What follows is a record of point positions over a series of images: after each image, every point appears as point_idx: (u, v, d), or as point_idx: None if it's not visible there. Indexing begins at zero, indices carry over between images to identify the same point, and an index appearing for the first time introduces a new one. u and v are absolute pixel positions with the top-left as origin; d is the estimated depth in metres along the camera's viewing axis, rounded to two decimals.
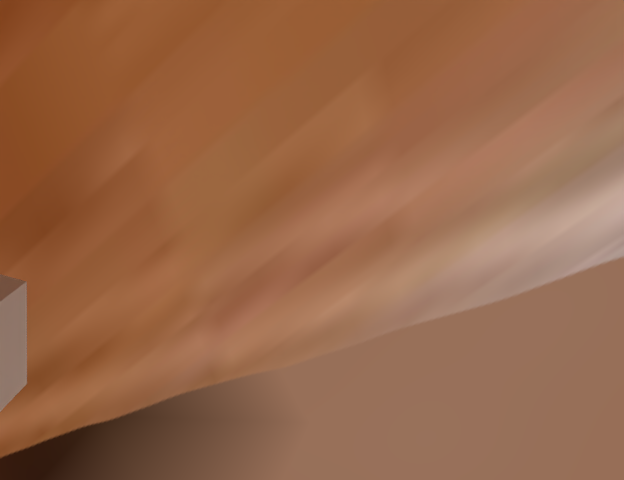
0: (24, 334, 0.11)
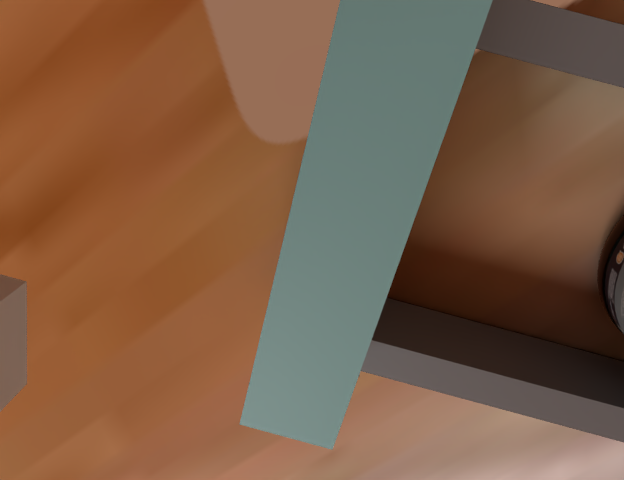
0: (24, 333, 0.11)
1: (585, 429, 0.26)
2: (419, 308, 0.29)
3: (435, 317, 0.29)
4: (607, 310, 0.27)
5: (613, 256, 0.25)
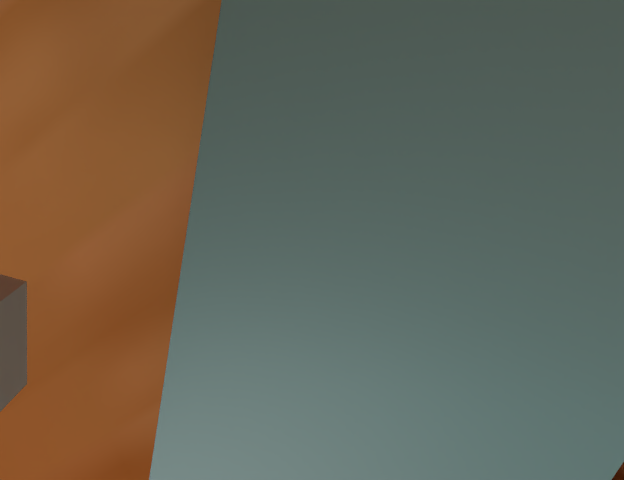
0: (24, 334, 0.11)
1: None
2: None
3: None
4: None
5: None
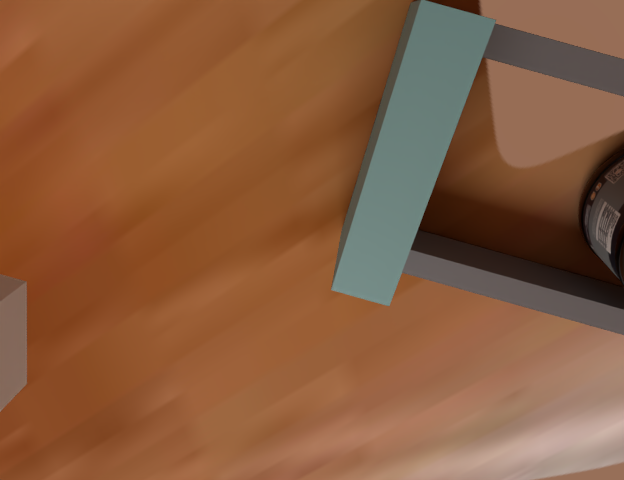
0: (24, 334, 0.11)
1: (552, 312, 0.39)
2: (439, 236, 0.42)
3: (450, 242, 0.41)
4: (584, 235, 0.39)
5: (589, 196, 0.38)
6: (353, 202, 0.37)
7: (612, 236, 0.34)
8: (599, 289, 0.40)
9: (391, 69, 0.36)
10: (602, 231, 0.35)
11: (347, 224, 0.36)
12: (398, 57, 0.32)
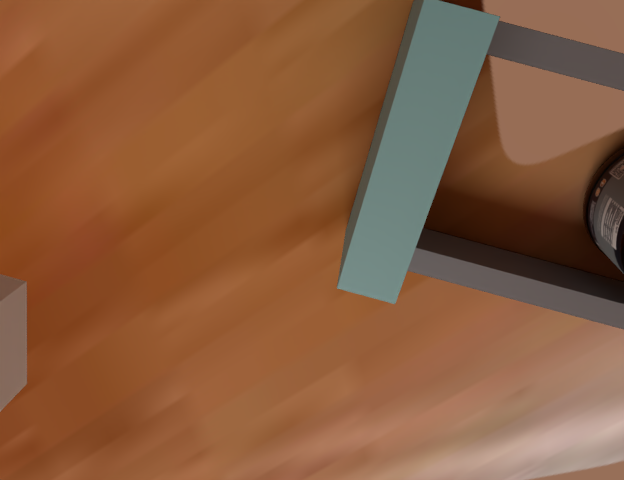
0: (24, 333, 0.11)
1: (557, 309, 0.39)
2: (444, 234, 0.42)
3: (455, 239, 0.41)
4: (589, 232, 0.39)
5: (593, 192, 0.38)
6: (358, 200, 0.37)
7: (617, 232, 0.34)
8: (604, 285, 0.40)
9: (394, 67, 0.36)
10: (607, 227, 0.35)
11: (352, 222, 0.37)
12: (402, 55, 0.32)
